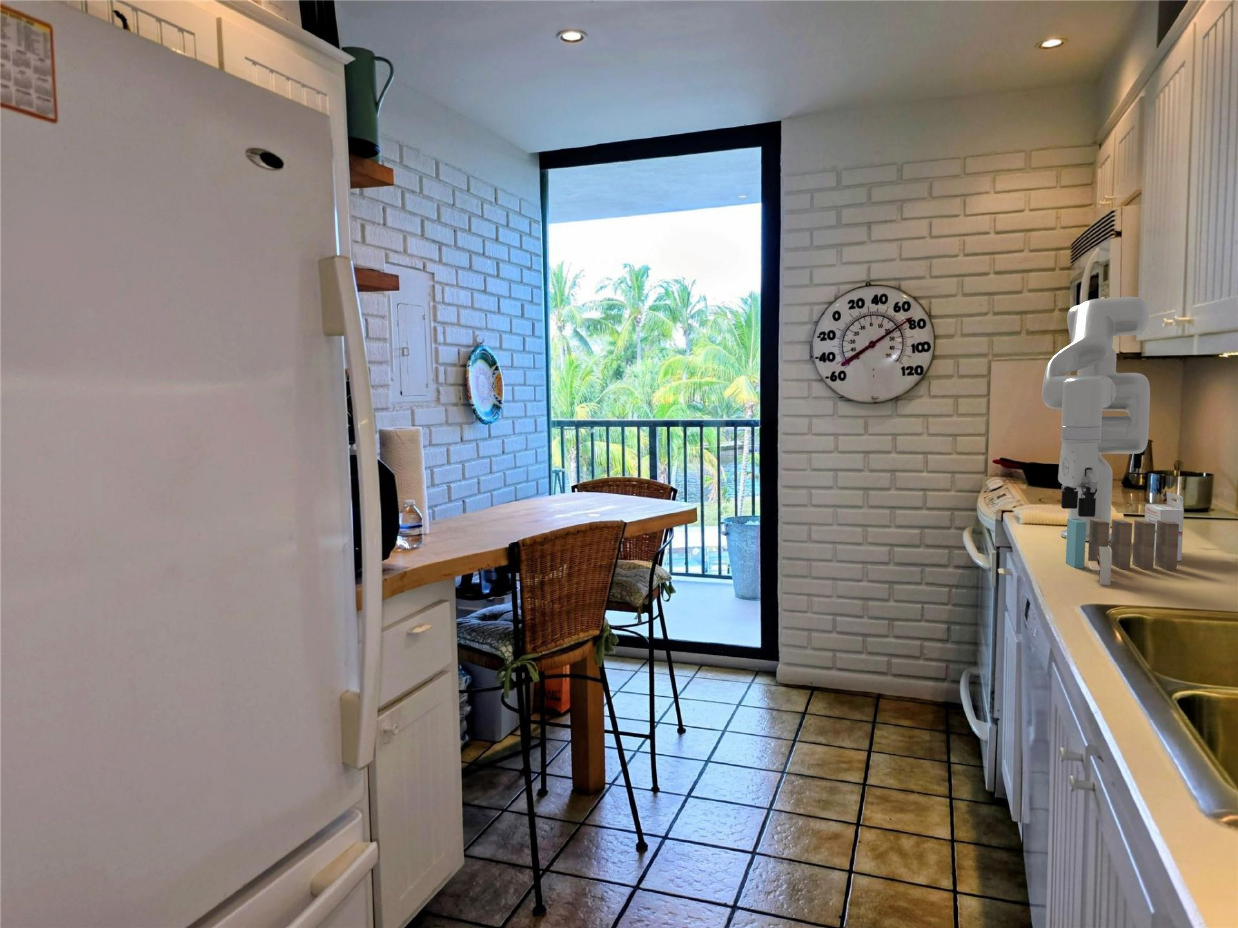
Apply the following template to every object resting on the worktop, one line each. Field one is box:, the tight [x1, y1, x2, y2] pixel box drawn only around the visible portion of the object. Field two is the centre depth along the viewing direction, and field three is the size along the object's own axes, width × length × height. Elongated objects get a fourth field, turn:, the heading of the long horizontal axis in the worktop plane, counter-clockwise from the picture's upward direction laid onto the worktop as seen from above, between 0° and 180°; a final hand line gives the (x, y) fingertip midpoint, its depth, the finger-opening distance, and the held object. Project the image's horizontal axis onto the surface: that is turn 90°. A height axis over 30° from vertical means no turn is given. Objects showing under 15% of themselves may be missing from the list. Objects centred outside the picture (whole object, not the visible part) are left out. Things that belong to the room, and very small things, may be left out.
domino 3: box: [1110, 518, 1133, 570], centre depth 174 cm, size 5×2×10 cm, turn 170°
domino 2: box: [1087, 519, 1110, 565], centre depth 175 cm, size 5×2×10 cm, turn 170°
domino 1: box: [1065, 518, 1087, 569], centre depth 176 cm, size 5×2×10 cm, turn 170°
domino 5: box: [1154, 520, 1179, 572], centre depth 173 cm, size 5×2×10 cm, turn 170°
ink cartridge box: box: [1144, 491, 1185, 562], centre depth 184 cm, size 9×5×15 cm, turn 168°
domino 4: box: [1131, 519, 1156, 571], centre depth 174 cm, size 5×2×10 cm, turn 170°
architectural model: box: [1087, 544, 1112, 586], centre depth 162 cm, size 3×7×7 cm, turn 154°
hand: (1077, 512), depth 176 cm, fingers open, 9 cm apart
